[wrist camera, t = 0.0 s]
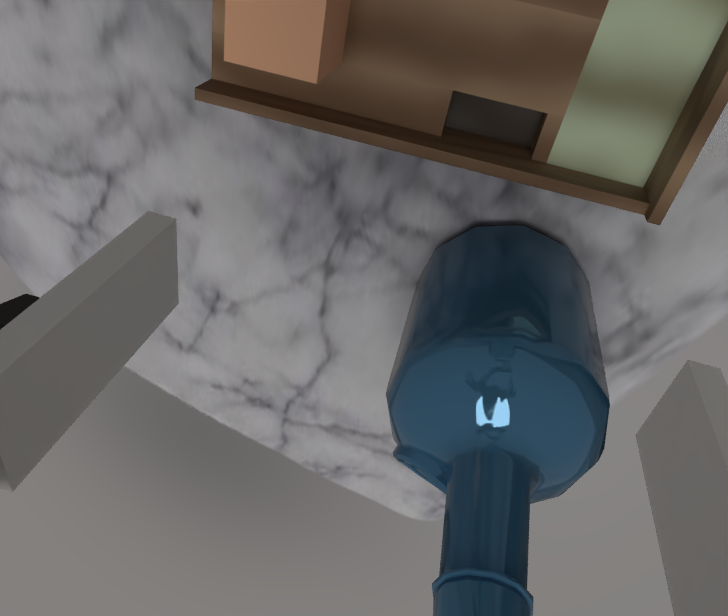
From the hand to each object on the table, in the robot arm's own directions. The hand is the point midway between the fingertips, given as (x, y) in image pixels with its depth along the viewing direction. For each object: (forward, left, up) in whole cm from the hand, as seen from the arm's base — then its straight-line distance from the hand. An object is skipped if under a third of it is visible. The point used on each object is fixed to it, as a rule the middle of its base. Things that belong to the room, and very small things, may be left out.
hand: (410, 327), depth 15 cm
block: (-2, -11, -26) cm, 28 cm away
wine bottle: (+16, +6, -28) cm, 33 cm away
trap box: (-2, -2, -28) cm, 28 cm away
